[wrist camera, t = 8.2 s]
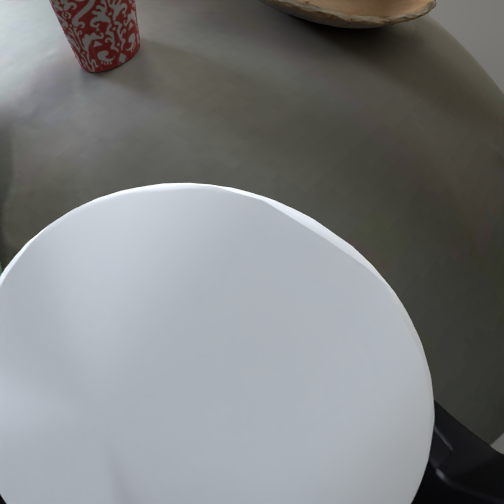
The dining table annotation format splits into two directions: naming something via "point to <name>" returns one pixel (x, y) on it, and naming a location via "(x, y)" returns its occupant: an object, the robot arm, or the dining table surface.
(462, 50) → the dining table surface
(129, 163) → the dining table surface
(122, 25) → the mug
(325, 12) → the ceramic bowl
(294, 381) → the supplement bottle
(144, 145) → the dining table surface
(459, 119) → the dining table surface
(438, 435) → the robot arm
